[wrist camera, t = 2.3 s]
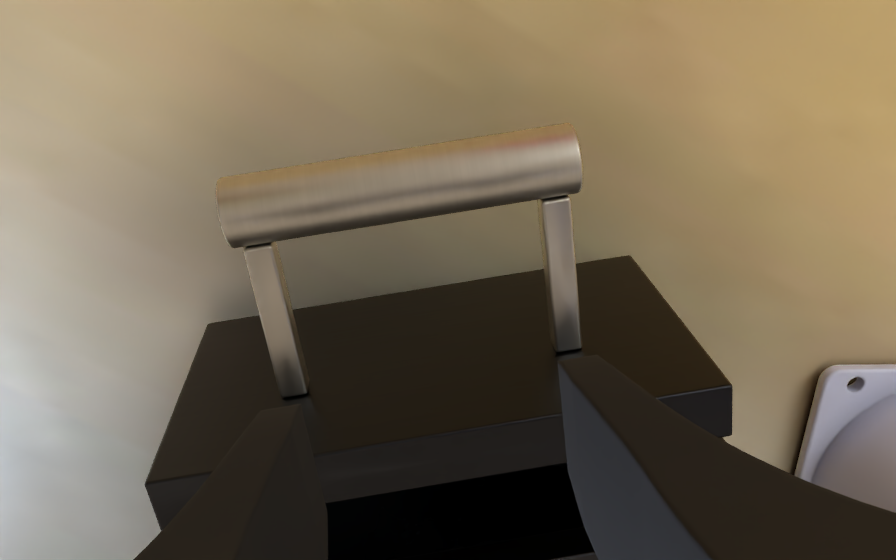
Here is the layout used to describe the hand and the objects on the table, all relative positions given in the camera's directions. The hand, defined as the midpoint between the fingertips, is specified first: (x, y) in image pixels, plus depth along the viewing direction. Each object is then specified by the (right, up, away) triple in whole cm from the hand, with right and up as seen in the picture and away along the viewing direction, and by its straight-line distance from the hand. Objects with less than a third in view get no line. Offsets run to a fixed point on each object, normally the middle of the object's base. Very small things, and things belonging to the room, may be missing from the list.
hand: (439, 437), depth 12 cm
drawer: (0, -2, +11) cm, 11 cm away
